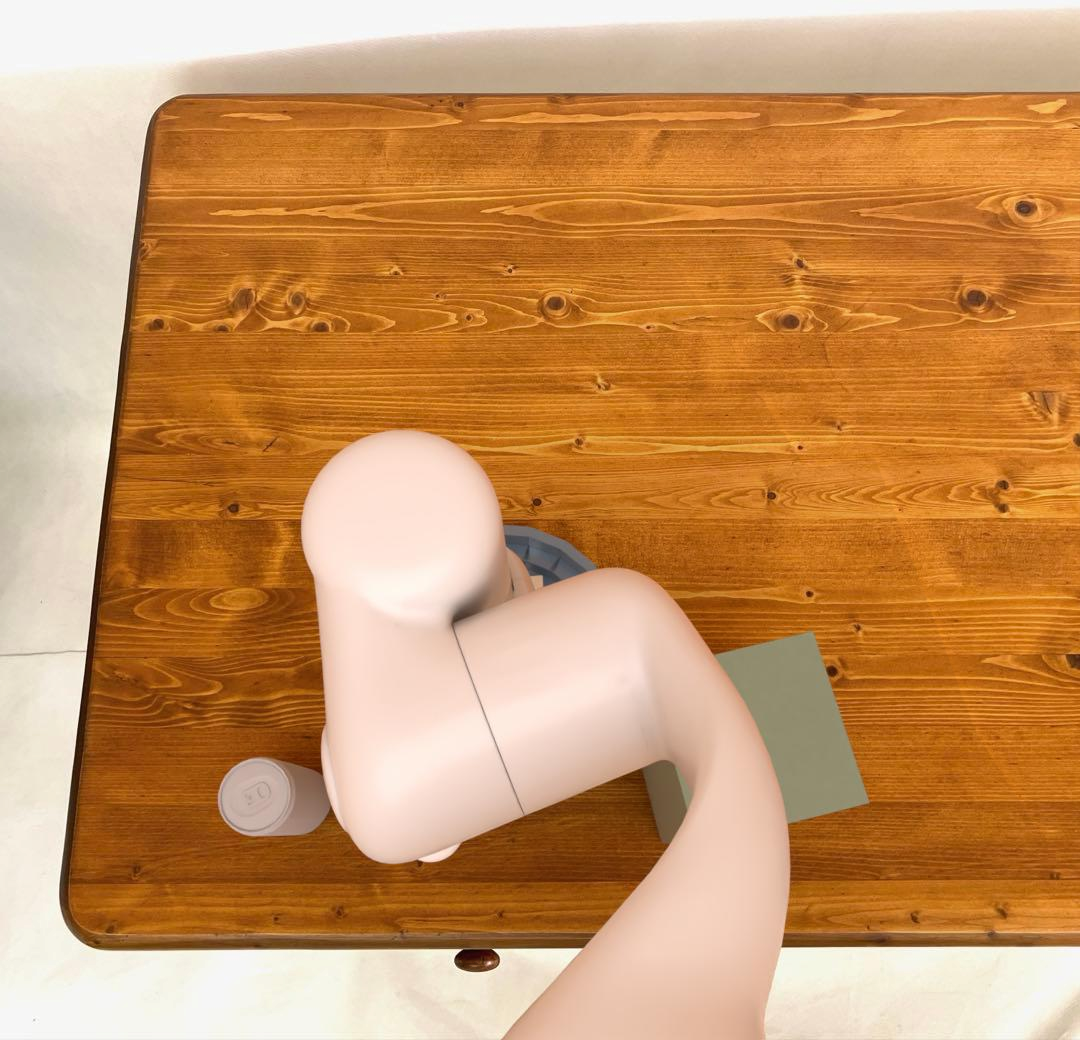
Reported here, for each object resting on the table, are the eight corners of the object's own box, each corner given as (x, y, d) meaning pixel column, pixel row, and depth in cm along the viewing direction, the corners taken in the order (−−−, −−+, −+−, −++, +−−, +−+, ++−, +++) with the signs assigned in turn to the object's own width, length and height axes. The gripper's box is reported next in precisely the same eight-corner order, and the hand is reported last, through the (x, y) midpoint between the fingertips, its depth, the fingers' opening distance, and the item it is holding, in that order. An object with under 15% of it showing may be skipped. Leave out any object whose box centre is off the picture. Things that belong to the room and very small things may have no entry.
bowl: (645, 741, 73) (653, 734, 68) (415, 798, 72) (404, 796, 67) (587, 523, 78) (590, 501, 73) (371, 573, 77) (358, 554, 72)
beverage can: (258, 786, 72) (203, 778, 61) (318, 755, 73) (275, 742, 62) (283, 847, 71) (232, 850, 60) (344, 815, 72) (305, 813, 60)
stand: (793, 809, 72) (870, 802, 54) (661, 842, 71) (697, 846, 54) (752, 676, 75) (813, 630, 57) (625, 707, 74) (648, 670, 57)
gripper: (278, 708, 45) (354, 742, 63) (617, 627, 46) (598, 683, 64) (254, 556, 47) (334, 630, 65) (578, 481, 48) (570, 574, 66)
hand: (464, 656), depth 64 cm, fingers closed on stirring stick, 2 cm apart
